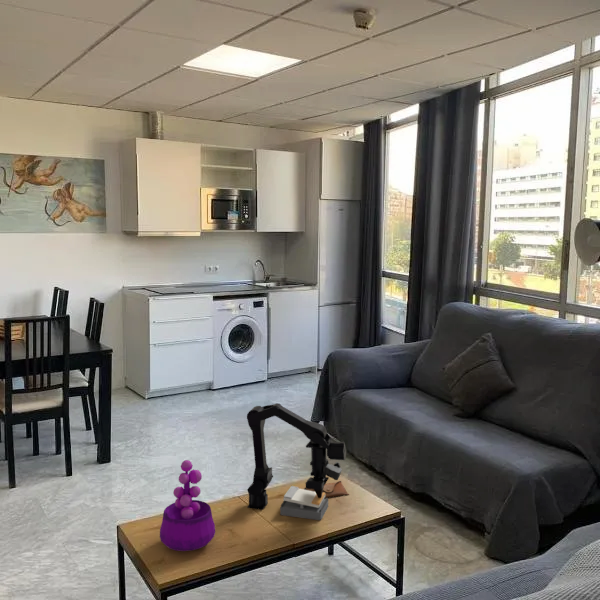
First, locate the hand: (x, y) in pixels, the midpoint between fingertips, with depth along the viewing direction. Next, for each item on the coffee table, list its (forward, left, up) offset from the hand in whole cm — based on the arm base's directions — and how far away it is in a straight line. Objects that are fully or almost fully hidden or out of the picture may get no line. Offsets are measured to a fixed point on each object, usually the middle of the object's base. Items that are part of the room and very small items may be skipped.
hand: (319, 497), depth 232 cm
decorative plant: (-38, -36, -6) cm, 53 cm away
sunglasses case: (-1, +17, -7) cm, 18 cm away
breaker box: (-6, 0, -6) cm, 9 cm away
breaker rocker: (-6, 0, -1) cm, 6 cm away
